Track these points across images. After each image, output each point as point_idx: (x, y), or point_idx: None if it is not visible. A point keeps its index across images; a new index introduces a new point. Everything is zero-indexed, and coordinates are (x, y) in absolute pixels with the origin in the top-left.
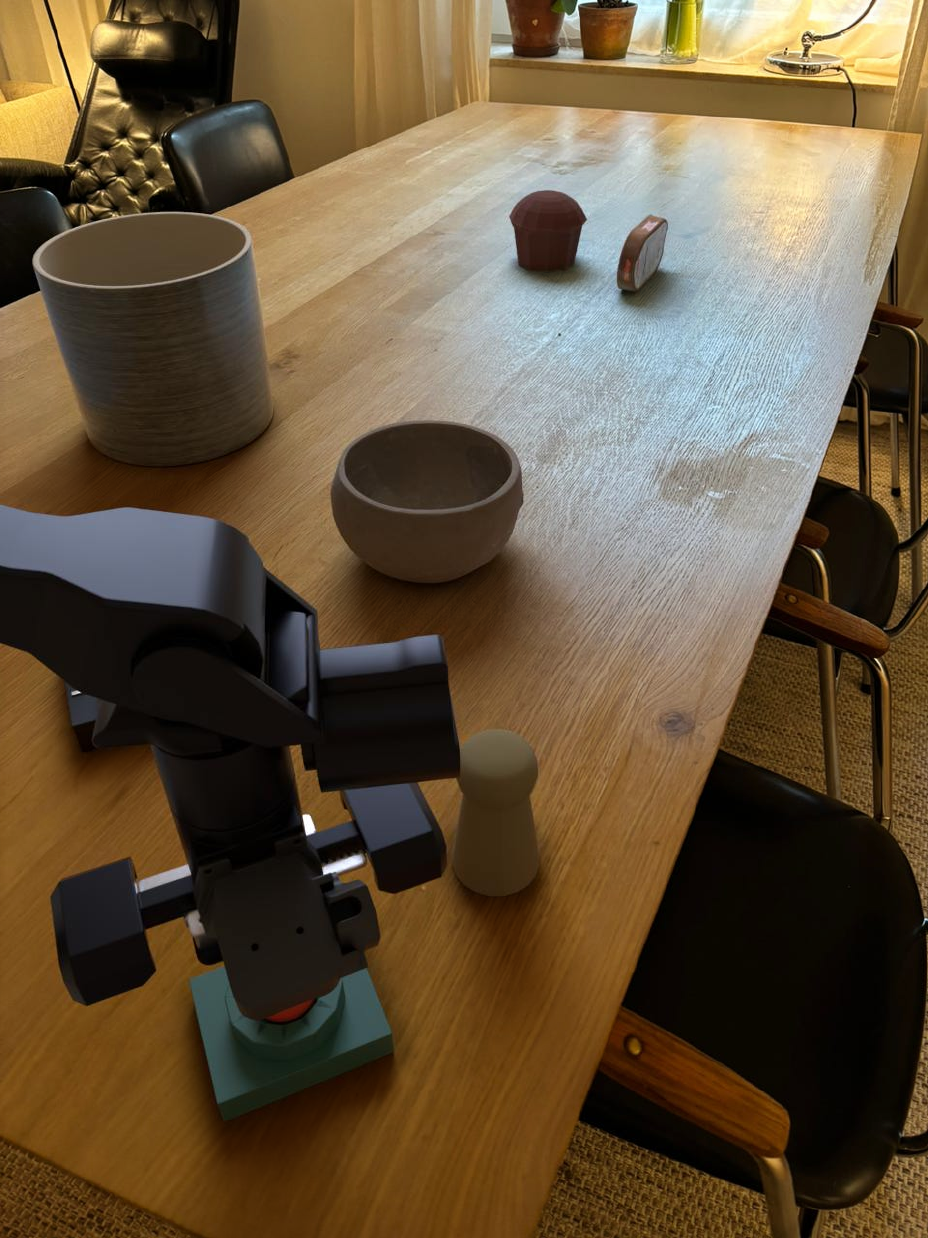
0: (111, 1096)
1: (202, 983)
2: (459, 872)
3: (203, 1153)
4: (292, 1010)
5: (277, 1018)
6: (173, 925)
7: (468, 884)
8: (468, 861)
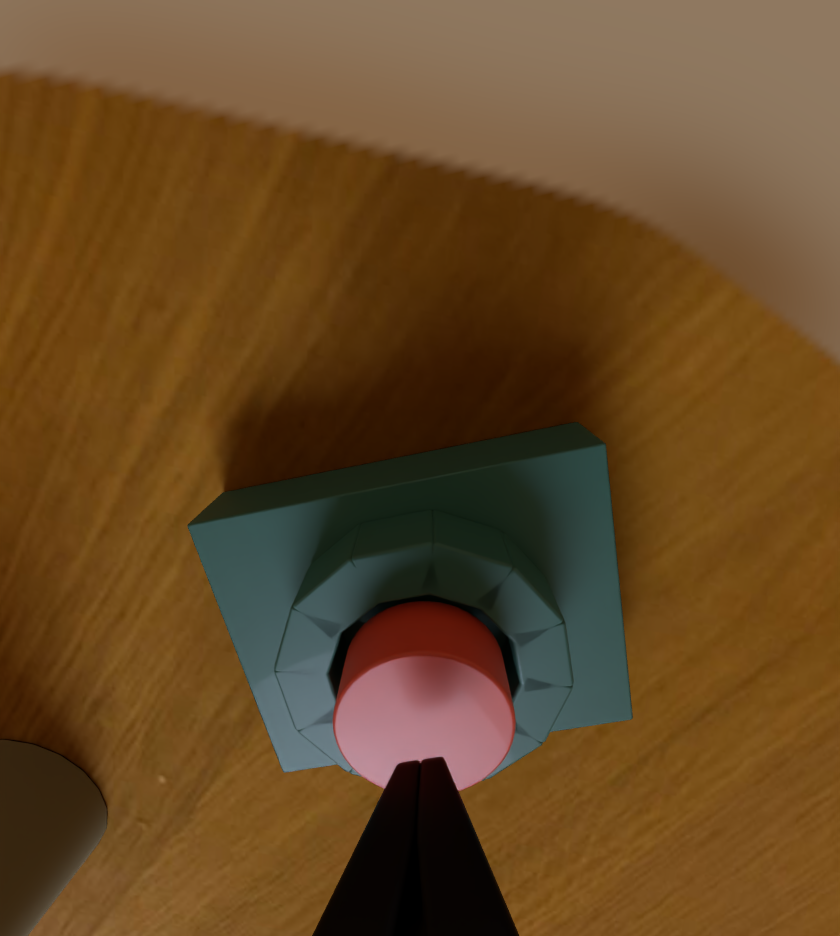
0: (789, 516)
1: (605, 706)
2: (80, 801)
3: (626, 368)
4: (400, 631)
5: (444, 615)
6: (629, 793)
7: (67, 774)
8: (19, 844)
